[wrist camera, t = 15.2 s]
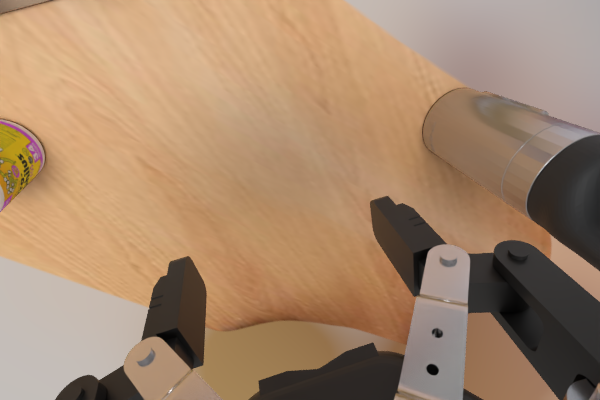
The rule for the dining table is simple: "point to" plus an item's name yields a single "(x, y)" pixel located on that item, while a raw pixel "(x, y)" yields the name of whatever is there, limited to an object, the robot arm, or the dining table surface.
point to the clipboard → (17, 4)
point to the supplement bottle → (17, 160)
